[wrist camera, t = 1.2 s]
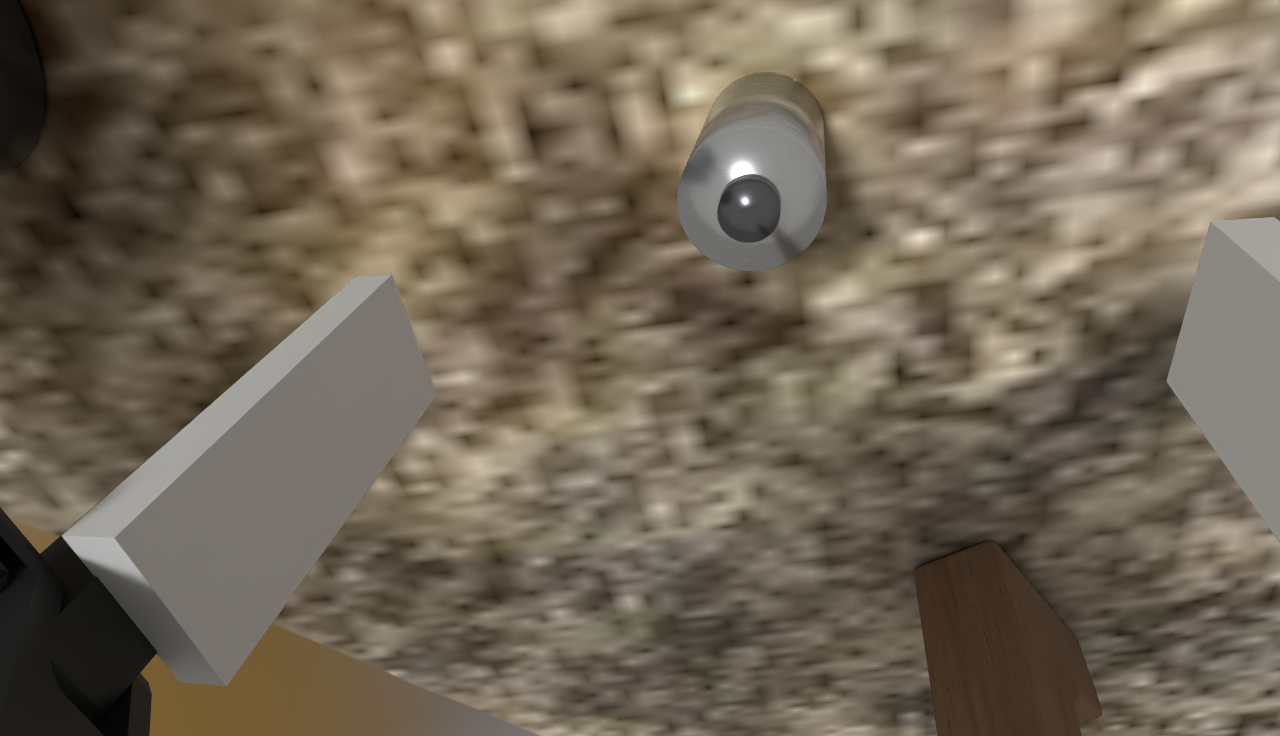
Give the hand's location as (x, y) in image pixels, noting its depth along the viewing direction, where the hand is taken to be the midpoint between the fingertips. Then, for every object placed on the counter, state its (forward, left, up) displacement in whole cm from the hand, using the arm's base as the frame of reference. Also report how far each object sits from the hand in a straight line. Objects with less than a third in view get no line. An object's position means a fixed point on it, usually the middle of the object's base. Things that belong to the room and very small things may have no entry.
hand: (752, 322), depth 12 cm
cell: (-1, -2, -17) cm, 17 cm away
